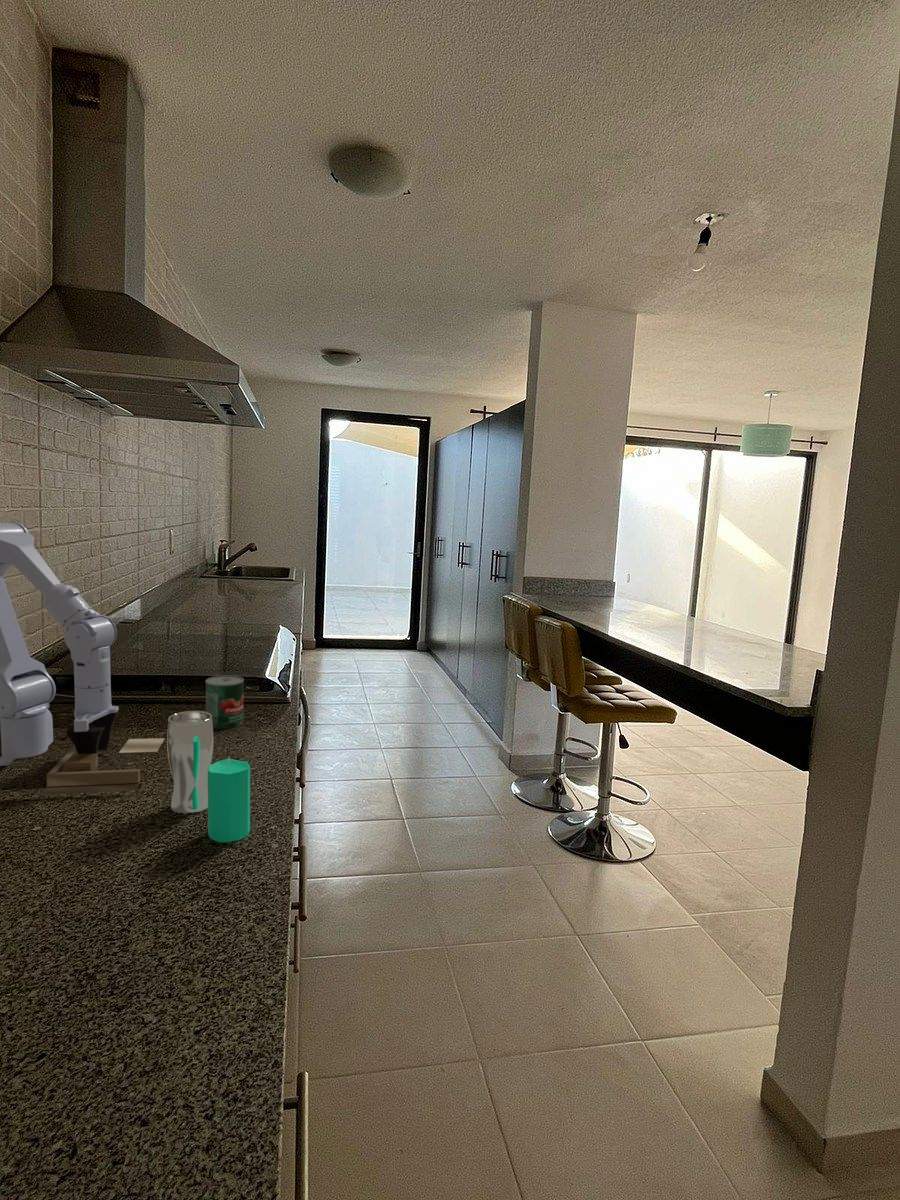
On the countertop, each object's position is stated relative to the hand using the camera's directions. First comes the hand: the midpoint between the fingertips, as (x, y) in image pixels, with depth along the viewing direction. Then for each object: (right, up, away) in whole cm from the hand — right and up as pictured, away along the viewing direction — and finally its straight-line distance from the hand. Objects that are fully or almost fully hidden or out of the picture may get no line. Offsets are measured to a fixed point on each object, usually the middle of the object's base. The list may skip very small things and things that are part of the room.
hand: (94, 757), depth 120 cm
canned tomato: (+15, 0, +24) cm, 29 cm away
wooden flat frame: (+3, -2, +2) cm, 4 cm away
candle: (+31, -7, -21) cm, 38 cm away
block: (+1, -2, -6) cm, 7 cm away
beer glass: (+22, -5, -13) cm, 26 cm away
